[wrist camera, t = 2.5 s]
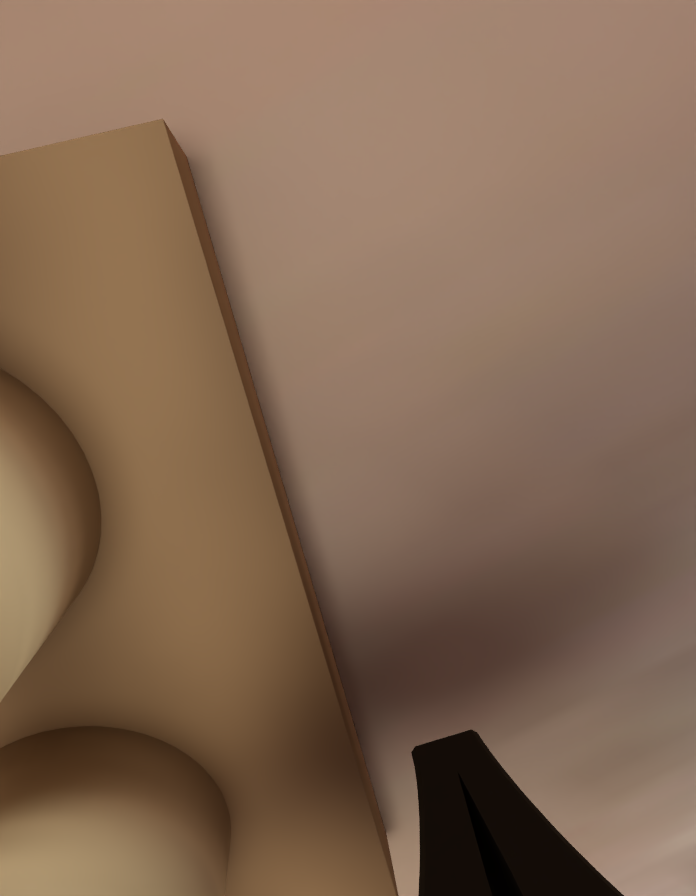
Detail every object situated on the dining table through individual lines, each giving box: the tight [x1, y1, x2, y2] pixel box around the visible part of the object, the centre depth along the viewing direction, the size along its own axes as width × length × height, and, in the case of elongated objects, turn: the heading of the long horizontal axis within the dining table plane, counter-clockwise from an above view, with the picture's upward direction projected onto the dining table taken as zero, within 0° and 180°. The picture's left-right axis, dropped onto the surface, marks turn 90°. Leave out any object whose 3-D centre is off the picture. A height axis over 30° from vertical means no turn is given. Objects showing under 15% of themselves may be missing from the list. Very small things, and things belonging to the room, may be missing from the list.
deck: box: [0, 119, 398, 896], centre depth 11 cm, size 10×18×2 cm, turn 14°
